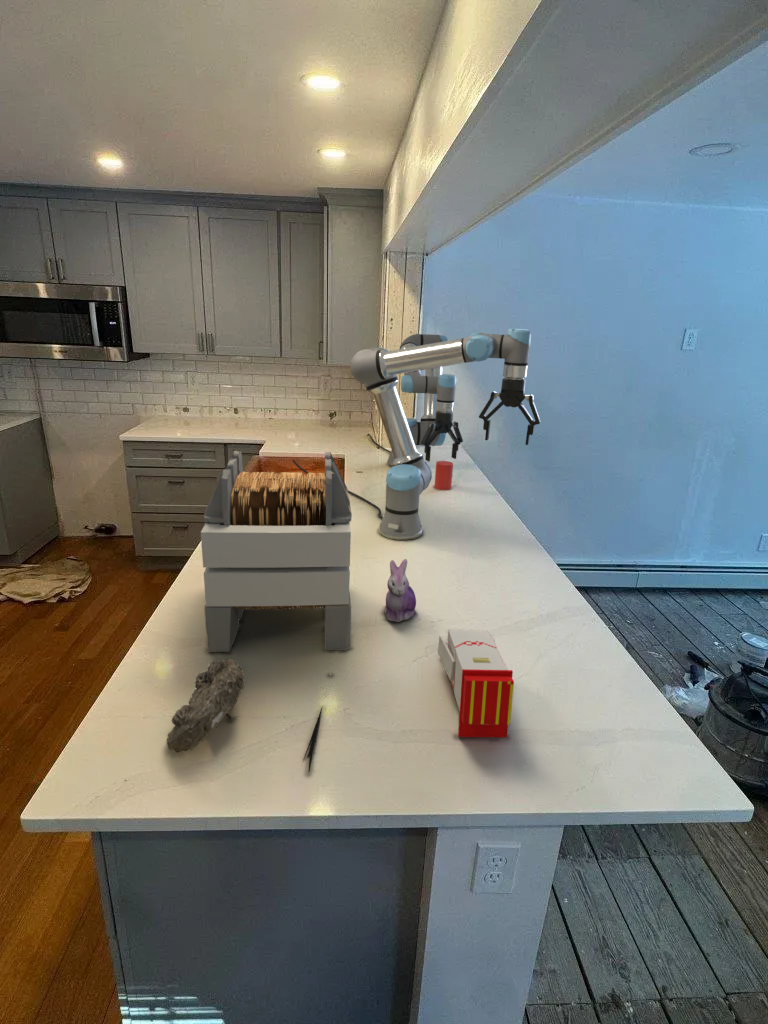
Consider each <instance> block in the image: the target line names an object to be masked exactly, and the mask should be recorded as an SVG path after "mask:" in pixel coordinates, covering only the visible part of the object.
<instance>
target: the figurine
mask: <svg viewBox="0 0 768 1024" xmlns="http://www.w3.org/2000/svg"><path fill="white" fill-rule="evenodd" d="M407 567H408V559H406V558H404V559H403V560H402V561H401V563H400V565H399V566H398V565H397V563H396V562H395V561H394V560H393V559H391V560H390V561H389V570H390V576H389V578H388V579H387V589H388V591H387V592H386V594H385V595H386V596H385V607H384V615H385V616H386V620H387V621H391V622H395V623H400V622H402V621H406V620H409V619H410V618H411V617H413V616H414V615H415V610H416V606H417V597H416V593H415V591H414V590H413V587H411V586H410V582H409V579H408V577H407V574H406V571H407Z"/></svg>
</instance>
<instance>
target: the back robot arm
mask: <svg viewBox="0 0 768 1024" xmlns="http://www.w3.org/2000/svg"><path fill="white" fill-rule="evenodd" d="M444 341H449V338H448V337H447V335H444V334H427V333H426V334H424V333H415V334H412V335H409V336H407V337H406V338H405V339H403V341H402V342H401V344H400V346H399V349H405V348H410V347H416V346H421V345H427V344H433V343H438V342H444ZM443 369H444V366H443V367H437V368H431V369H425V370H424V375H422V370H419V371H413V372H407V373H403V374H404V375H402V376H401V377H400V390H401V392H402V393H406V394H424V396H423V397H424V399H423V415H422V416H421V417H420V421H418V419H416V418H412V417H406V419H407V422H408V425H409V428H410V431H411V434H412V438H413V441H414V444H415V446H421V447H422V446H423V447H424V454H425V455H424V456H425V458H424V461H426V462H430V461H431V451H432V447H440V446H442V445H443V444H444V443H445V440H446V438H447V437H446V436H447V434H448V435H449V437H450V438H451V440H452V441H453V442H452V445H451V446H452V447H451V458H452V459H453V460H457V453H458V452H459V445H461V443H463V442H464V439H463V436H462V434H461V431H460V428H459V422H458V421H455V420H454V408H455V398H456V397H455V396H456V389H457V388H456V386H457V377H456V375H455V374H451V373H449V374H448V373H444V372H443V371H444V370H443ZM452 428H453V429H452ZM453 431H454V432H453ZM367 436H369V438H370V439H371V441H372V442H373V444H375V445H376V446H377V447H379V448H381V449H382V450H384V451H385V452H388V453H389V456H388V459H387V466H389V467H390V468H391V467H393V465H392V462H393V460H394V455H393V452H392V449H391V450H389V449H387V448H385V447H383V446H382V445H380V444H378V443H377V442H376V441H375V440H374V438H373V436H372V435H371V434H370V433H367V434H366V437H367Z"/></svg>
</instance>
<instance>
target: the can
mask: <svg viewBox="0 0 768 1024" xmlns="http://www.w3.org/2000/svg"><path fill="white" fill-rule="evenodd" d="M453 470H454V462H452V461H450V460H449V461H447V460H437V461H436V462H435V473H434V485H433V487H434V488H435V489H437V490H439V491H448V490H451V489H452V482H453V473H454V472H453Z"/></svg>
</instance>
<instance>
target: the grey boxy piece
mask: <svg viewBox="0 0 768 1024" xmlns="http://www.w3.org/2000/svg"><path fill="white" fill-rule="evenodd" d="M337 465H338V464H337V463H336V461H335V459H334V457H333V454H332V452H330V451H324V472H317V473H316V472H309V473H305V472H301V471H300V472H299V471H298V472H297V471H296V472H294V471H293V472H292V471H291V472H290V471H289V472H288V471H282V472H278V473H277V472H274V471H261V472H259V471H251V472H250V471H244V469H243V468H244V467H243V466H244V465H243V453H242V451H237V450H234V451H233V453H232V454H231V457H230V458H229V459H228V462H227V464H226V466H225V468H224V469H223V470H222V471H221V474H220V476H219V479H218V481H217V483H216V485H215V487H214V490H213V492H212V494H211V497H210V498H209V502H208V503H207V506H206V508H205V510H204V514H203V521H204V522H205V523H204V525H203V527H202V529H201V531H200V541H201V556H202V568H205V570H204V571H203V582H204V596H205V599H204V600H205V605H204V621H205V633H206V640H207V641H206V642H207V648H206V651H207V653H215V652H217V653H218V652H219V653H220V652H221V653H222V652H223V653H224V652H226V653H227V652H230V651H231V649H232V646H233V644H234V642H235V638H236V637H237V634H238V632H239V629H240V624H239V623H240V622H239V621H240V620H242V617H243V613H244V611H245V610H252V611H254V610H255V611H256V610H293V609H294V610H296V609H297V610H299V609H300V610H301V609H303V610H306V609H307V610H310V609H312V610H313V609H324V611H323V612H324V614H323V616H324V617H323V618H324V650H325V651H326V650H332V651H333V650H334V651H335V650H342V651H347V650H349V649H350V648H351V631H352V626H351V625H352V603H351V591H350V580H351V579H350V578H351V576H350V575H351V570H350V566H351V543H352V542H351V538H352V537H351V536H352V535H351V534H352V531H351V525H350V522H351V521H352V516H353V515H352V509H351V508H352V507H351V501H350V496H349V495H350V494H349V493H348V491H349V489H348V486H347V485H346V483H345V480H344V478H343V476H342V474H341V471H340V470H339V467H338V466H337Z"/></svg>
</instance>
